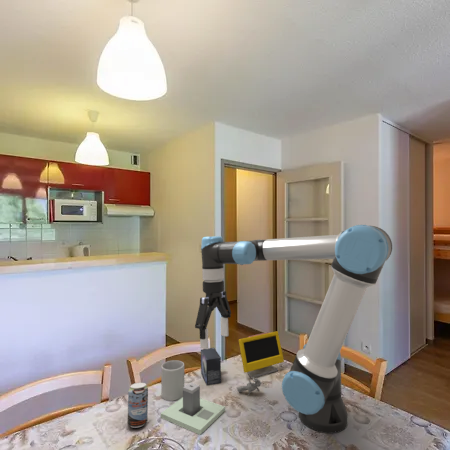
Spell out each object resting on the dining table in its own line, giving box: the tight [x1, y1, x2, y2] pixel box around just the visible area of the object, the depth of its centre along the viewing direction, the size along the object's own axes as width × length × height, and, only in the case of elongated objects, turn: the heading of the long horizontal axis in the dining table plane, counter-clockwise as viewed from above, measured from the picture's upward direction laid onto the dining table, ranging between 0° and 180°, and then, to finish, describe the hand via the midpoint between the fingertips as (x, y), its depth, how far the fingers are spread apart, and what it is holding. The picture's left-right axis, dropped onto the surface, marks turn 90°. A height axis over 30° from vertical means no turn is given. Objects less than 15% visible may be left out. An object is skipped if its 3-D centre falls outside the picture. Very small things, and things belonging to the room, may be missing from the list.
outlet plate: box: [160, 397, 226, 436], centre depth 101 cm, size 16×14×2 cm
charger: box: [182, 382, 201, 417], centre depth 101 cm, size 4×4×9 cm
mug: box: [160, 359, 185, 402], centre depth 114 cm, size 12×8×11 cm
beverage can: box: [126, 382, 149, 429], centre depth 96 cm, size 6×7×12 cm
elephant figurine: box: [236, 377, 262, 397], centre depth 113 cm, size 10×6×9 cm
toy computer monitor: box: [238, 330, 285, 379], centre depth 131 cm, size 20×8×16 cm, turn 119°
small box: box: [200, 347, 222, 386], centre depth 125 cm, size 11×6×10 cm, turn 17°
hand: (215, 341), depth 105 cm, fingers open, 13 cm apart
